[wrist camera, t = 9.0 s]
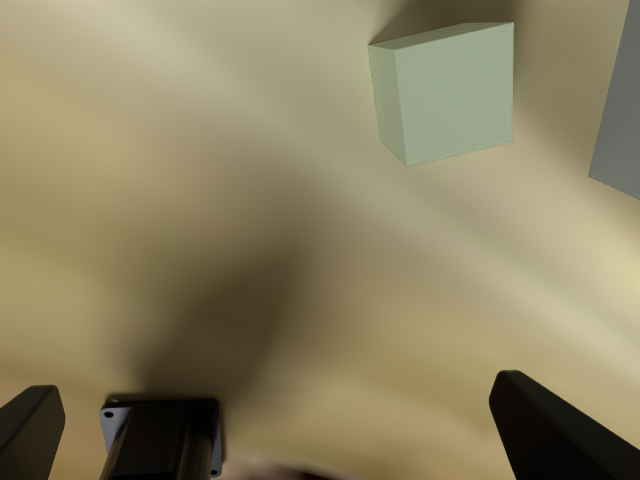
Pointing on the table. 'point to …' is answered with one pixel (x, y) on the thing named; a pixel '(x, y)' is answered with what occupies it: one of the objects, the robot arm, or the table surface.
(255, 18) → the table surface
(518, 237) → the table surface
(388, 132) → the sage block
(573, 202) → the table surface
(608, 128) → the base block
